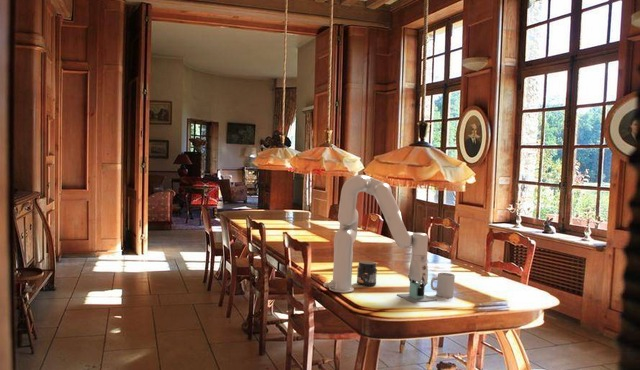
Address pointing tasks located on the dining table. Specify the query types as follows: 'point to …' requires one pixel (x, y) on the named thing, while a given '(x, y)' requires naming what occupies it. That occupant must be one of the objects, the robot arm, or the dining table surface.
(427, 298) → the grey plate with knob
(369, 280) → the supplement container
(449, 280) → the mug
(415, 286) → the teal rectangular block
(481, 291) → the dining table surface
